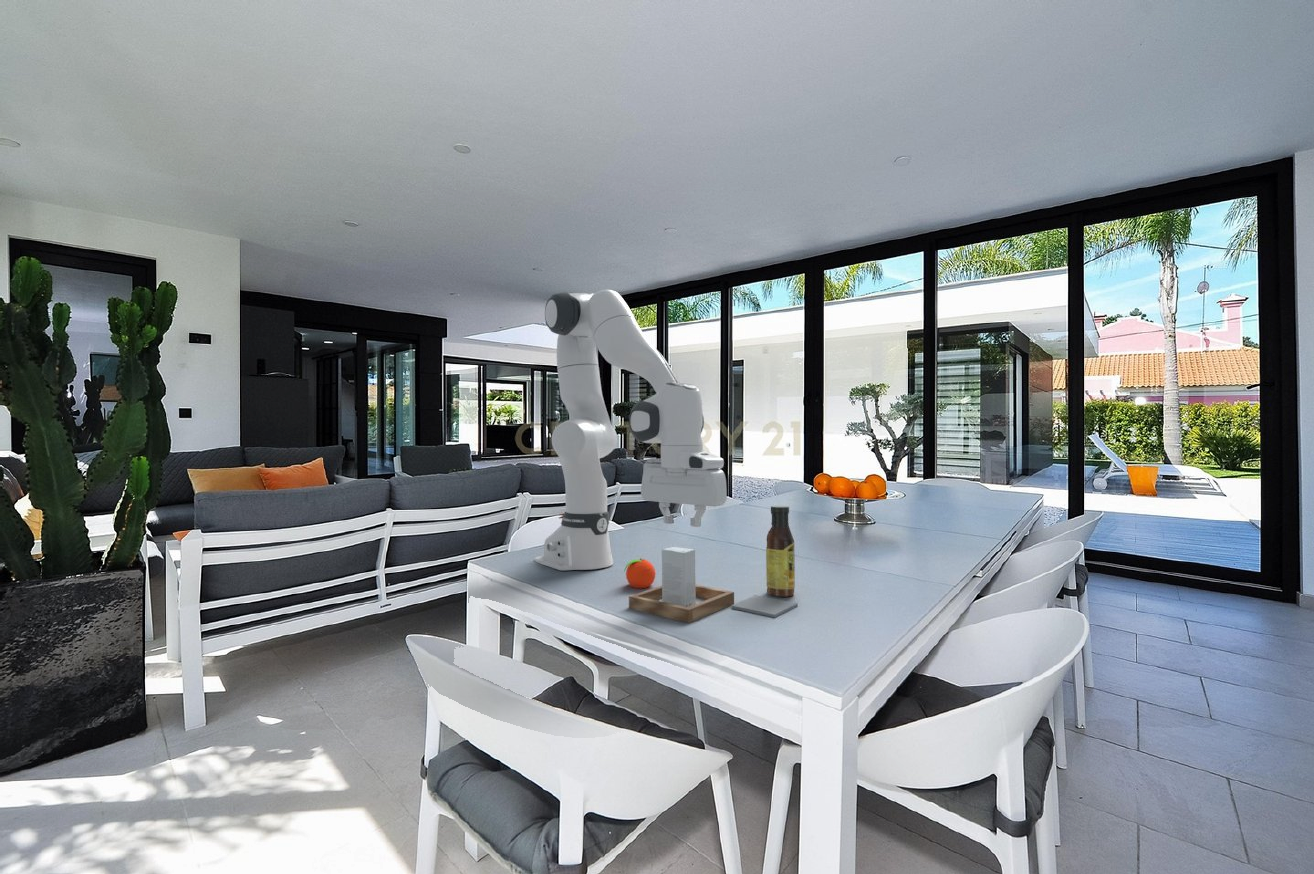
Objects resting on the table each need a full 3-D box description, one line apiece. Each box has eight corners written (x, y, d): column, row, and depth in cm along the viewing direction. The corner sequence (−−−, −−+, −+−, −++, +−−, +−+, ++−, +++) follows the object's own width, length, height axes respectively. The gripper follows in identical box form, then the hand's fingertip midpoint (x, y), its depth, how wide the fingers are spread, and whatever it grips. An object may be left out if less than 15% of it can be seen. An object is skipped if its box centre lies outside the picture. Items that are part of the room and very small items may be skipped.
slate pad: (731, 608, 122) (731, 605, 122) (755, 597, 130) (755, 595, 130) (774, 617, 116) (774, 614, 116) (797, 606, 123) (797, 603, 123)
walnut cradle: (628, 608, 122) (628, 596, 122) (676, 591, 135) (676, 580, 135) (689, 623, 112) (688, 610, 112) (734, 603, 125) (734, 592, 125)
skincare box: (696, 606, 123) (696, 549, 123) (684, 611, 120) (684, 552, 120) (673, 601, 127) (673, 546, 127) (661, 605, 124) (660, 549, 124)
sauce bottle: (795, 599, 129) (794, 508, 128) (766, 597, 130) (765, 507, 130) (794, 591, 135) (794, 504, 135) (766, 589, 136) (766, 504, 136)
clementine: (631, 595, 132) (631, 563, 132) (616, 588, 138) (616, 558, 138) (661, 589, 137) (661, 559, 137) (645, 583, 142) (645, 554, 142)
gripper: (634, 458, 128) (634, 522, 128) (713, 460, 115) (713, 531, 115) (653, 457, 132) (653, 518, 133) (730, 459, 120) (730, 527, 120)
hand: (682, 524), depth 124 cm, fingers open, 6 cm apart
